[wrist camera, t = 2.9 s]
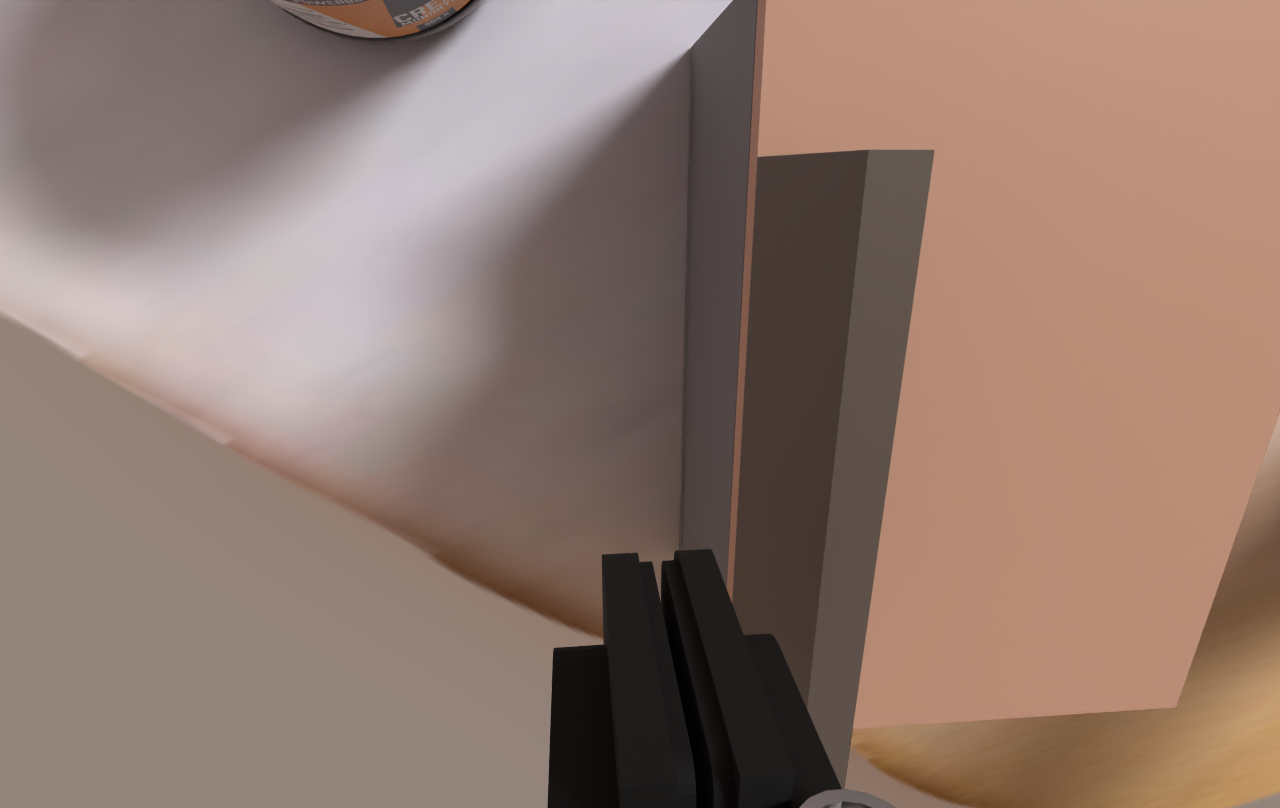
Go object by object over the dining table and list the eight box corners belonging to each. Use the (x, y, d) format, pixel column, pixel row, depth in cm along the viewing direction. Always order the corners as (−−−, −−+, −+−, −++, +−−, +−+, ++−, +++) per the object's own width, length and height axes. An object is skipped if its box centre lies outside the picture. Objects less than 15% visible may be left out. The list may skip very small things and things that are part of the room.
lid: (1393, -15, 16) (1980, -146, 9) (1157, 690, 24) (1390, 902, 17) (759, -29, 15) (906, -194, 8) (719, 718, 22) (779, 959, 16)
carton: (1095, 53, 26) (1388, -13, 16) (993, 541, 33) (1154, 688, 24) (691, 47, 25) (758, -28, 15) (679, 555, 32) (719, 716, 23)
